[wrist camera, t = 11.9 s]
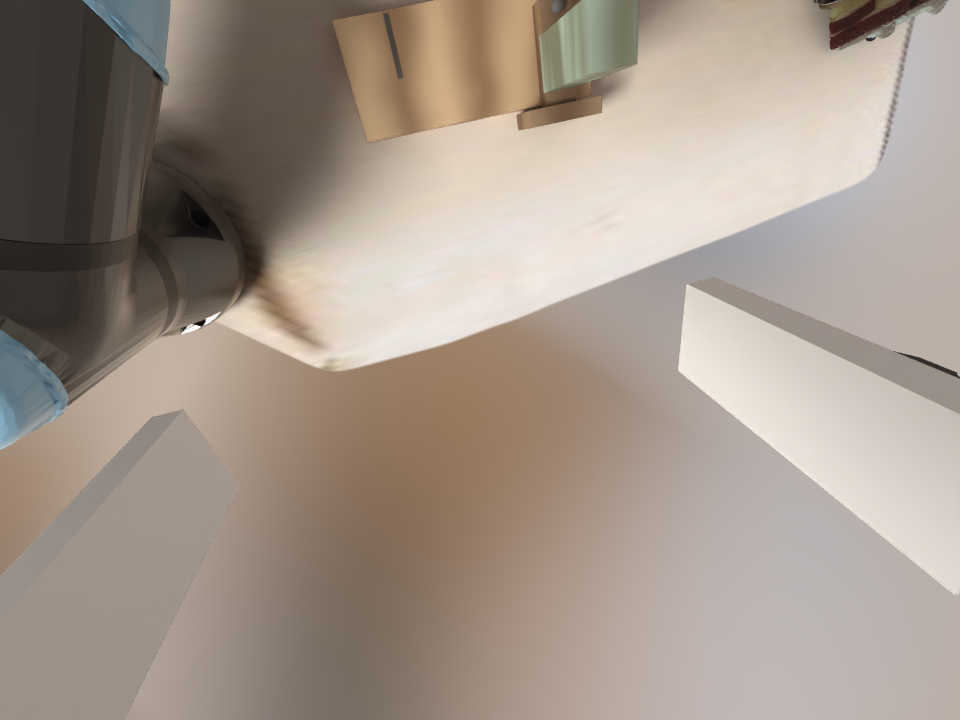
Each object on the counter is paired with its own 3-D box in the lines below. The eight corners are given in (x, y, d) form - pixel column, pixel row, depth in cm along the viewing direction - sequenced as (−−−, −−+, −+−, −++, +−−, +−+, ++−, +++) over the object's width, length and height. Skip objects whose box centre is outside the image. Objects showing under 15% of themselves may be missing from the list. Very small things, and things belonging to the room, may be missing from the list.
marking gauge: (518, 130, 35) (568, 121, 24) (505, 16, 31) (558, -56, 20) (580, 116, 35) (658, 101, 24) (576, 2, 31) (666, -77, 20)
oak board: (369, 142, 34) (367, 142, 32) (336, 28, 30) (331, 20, 28) (582, 97, 35) (591, 94, 33) (578, -20, 31) (588, -30, 29)
